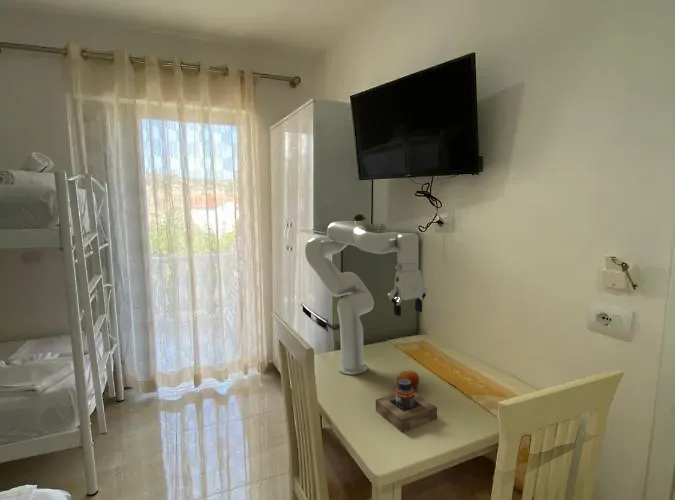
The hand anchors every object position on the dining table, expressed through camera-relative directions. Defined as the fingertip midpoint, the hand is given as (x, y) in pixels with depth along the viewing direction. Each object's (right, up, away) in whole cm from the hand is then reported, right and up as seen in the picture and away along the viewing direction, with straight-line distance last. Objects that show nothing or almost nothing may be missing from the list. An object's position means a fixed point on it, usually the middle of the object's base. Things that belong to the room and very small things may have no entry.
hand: (408, 313), depth 139 cm
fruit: (0, -29, +2) cm, 29 cm away
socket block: (-4, -30, -16) cm, 35 cm away
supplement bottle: (-4, -31, -16) cm, 35 cm away
